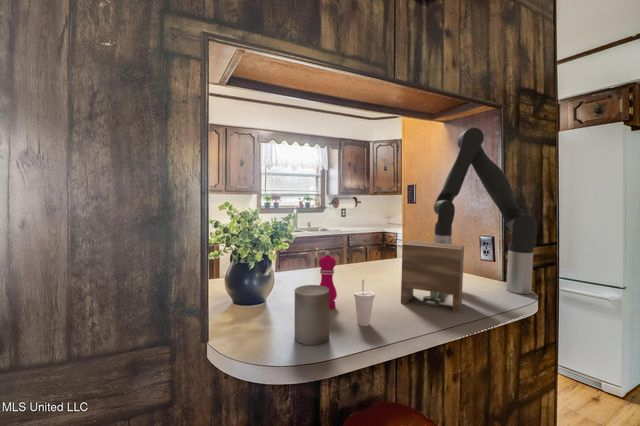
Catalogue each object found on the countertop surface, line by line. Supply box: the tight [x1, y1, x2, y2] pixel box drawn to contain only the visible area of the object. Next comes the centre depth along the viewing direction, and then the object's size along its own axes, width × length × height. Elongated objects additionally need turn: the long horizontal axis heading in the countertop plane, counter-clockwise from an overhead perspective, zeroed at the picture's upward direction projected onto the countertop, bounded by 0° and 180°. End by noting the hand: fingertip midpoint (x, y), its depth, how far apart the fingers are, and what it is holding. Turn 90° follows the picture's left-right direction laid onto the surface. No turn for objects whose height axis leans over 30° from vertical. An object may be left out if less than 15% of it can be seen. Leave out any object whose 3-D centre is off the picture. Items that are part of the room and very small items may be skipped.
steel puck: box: [422, 295, 441, 307], centre depth 123 cm, size 6×6×2 cm
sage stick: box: [429, 291, 441, 298], centre depth 138 cm, size 23×2×4 cm, turn 151°
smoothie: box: [353, 278, 376, 327], centre depth 101 cm, size 6×6×14 cm
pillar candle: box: [293, 284, 330, 346], centre depth 90 cm, size 10×10×15 cm
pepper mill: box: [318, 250, 338, 310], centre depth 116 cm, size 7×7×20 cm
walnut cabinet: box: [400, 240, 465, 313], centre depth 122 cm, size 12×20×22 cm, turn 62°
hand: (441, 283), depth 145 cm, fingers closed on sage stick, 2 cm apart
